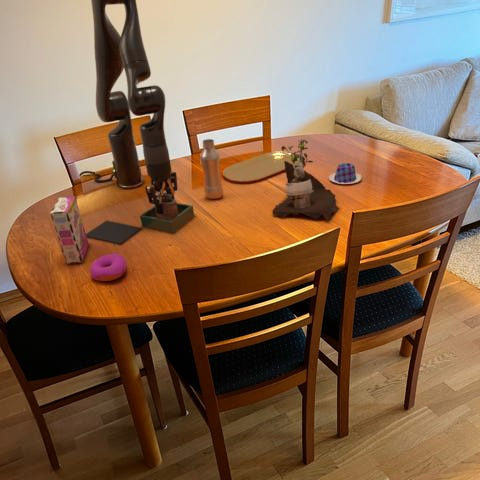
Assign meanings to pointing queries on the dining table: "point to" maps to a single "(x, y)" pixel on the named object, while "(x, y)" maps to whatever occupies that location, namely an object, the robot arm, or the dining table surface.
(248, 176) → the serving platter
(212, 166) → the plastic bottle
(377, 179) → the dining table surface
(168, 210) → the lighter
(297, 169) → the potted plant
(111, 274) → the donut
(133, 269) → the dining table surface
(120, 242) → the mat
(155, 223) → the frame
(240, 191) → the dining table surface
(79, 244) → the candy bar box
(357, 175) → the purple patterned hat
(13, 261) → the dining table surface
